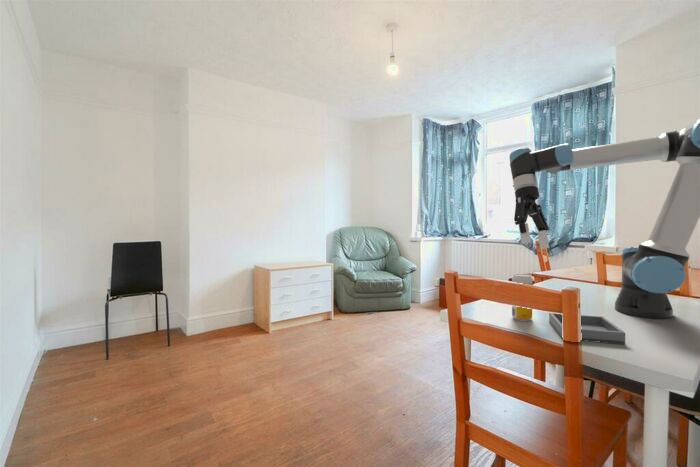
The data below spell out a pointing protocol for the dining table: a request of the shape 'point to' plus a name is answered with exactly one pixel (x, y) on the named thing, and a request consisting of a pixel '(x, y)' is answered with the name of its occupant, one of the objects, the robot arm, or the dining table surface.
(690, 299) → the dining table surface
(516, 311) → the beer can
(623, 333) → the tray
